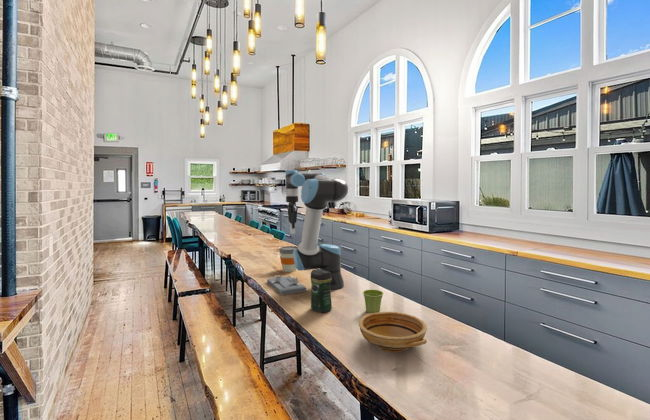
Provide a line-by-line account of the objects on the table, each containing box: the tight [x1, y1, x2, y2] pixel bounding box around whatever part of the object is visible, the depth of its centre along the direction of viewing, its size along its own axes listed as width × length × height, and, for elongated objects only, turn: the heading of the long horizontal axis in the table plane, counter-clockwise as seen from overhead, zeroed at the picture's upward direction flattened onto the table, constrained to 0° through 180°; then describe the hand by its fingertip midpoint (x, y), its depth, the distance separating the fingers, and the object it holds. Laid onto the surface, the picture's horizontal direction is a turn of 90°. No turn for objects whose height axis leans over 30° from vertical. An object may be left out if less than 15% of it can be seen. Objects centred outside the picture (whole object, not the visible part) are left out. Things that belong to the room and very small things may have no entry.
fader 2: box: [291, 276, 299, 285], centre depth 199 cm, size 2×3×3 cm, turn 115°
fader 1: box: [273, 274, 282, 282], centre depth 204 cm, size 2×3×3 cm, turn 116°
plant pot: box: [362, 289, 384, 314], centre depth 163 cm, size 9×9×9 cm
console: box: [266, 275, 307, 296], centre depth 202 cm, size 26×14×2 cm, turn 25°
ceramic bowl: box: [357, 311, 428, 353], centre depth 130 cm, size 30×24×8 cm
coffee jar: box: [310, 269, 332, 313], centre depth 166 cm, size 10×8×19 cm
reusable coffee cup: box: [279, 245, 298, 273], centre depth 238 cm, size 13×13×15 cm
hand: (292, 233), depth 224 cm, fingers closed
